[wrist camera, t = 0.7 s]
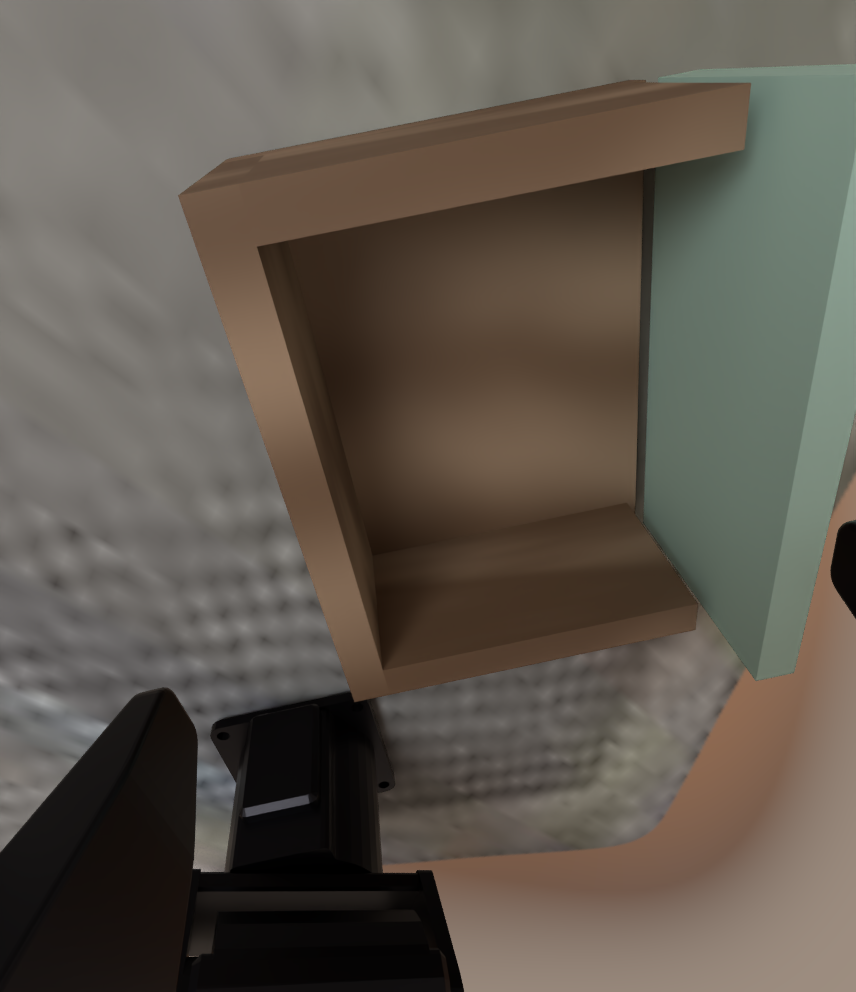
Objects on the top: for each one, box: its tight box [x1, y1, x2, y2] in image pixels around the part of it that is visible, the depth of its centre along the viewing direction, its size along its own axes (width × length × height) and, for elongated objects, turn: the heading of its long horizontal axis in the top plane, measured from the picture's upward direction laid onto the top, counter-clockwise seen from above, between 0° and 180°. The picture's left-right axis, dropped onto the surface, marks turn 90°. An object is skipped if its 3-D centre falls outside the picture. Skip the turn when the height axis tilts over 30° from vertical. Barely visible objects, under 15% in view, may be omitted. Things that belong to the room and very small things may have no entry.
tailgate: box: [643, 64, 856, 681], centre depth 16 cm, size 13×1×7 cm, turn 9°
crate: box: [178, 80, 751, 702], centre depth 17 cm, size 13×10×6 cm
